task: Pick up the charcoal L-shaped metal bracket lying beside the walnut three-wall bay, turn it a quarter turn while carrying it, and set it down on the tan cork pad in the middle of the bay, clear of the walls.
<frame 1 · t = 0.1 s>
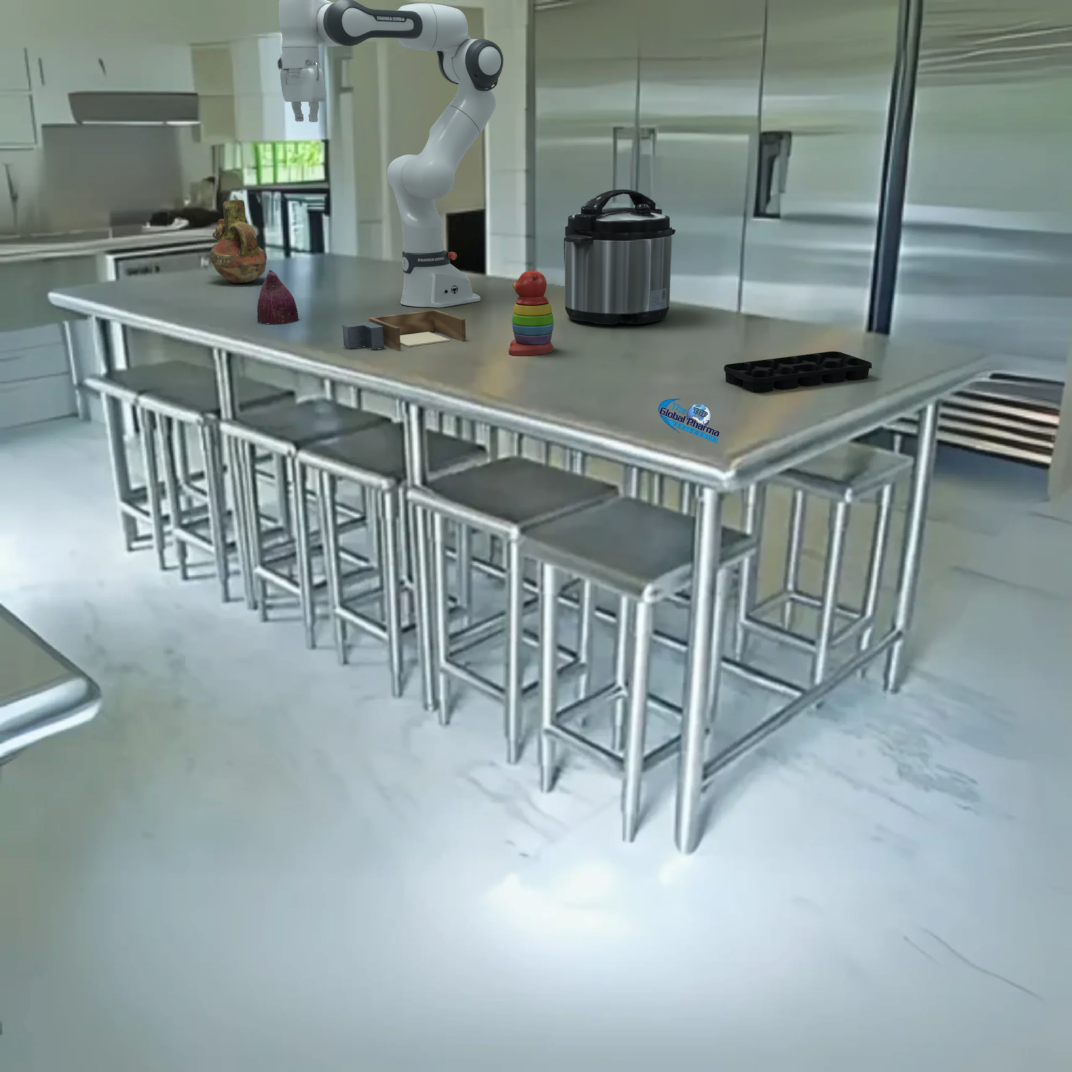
hand: (306, 121, 266), 48 cm above the table, tool pointing down, fingers open, 8 cm apart
black plastic tray: (796, 382, 216), on the table
pressure cooker: (614, 318, 277), on the table
ceramic vessel: (240, 282, 338), on the table
bay: (418, 340, 254), on the table
stacking bear: (531, 351, 243), on the table
vegetable: (278, 321, 279), on the table
bracket: (360, 346, 249), on the table
pad: (418, 340, 254), on the table
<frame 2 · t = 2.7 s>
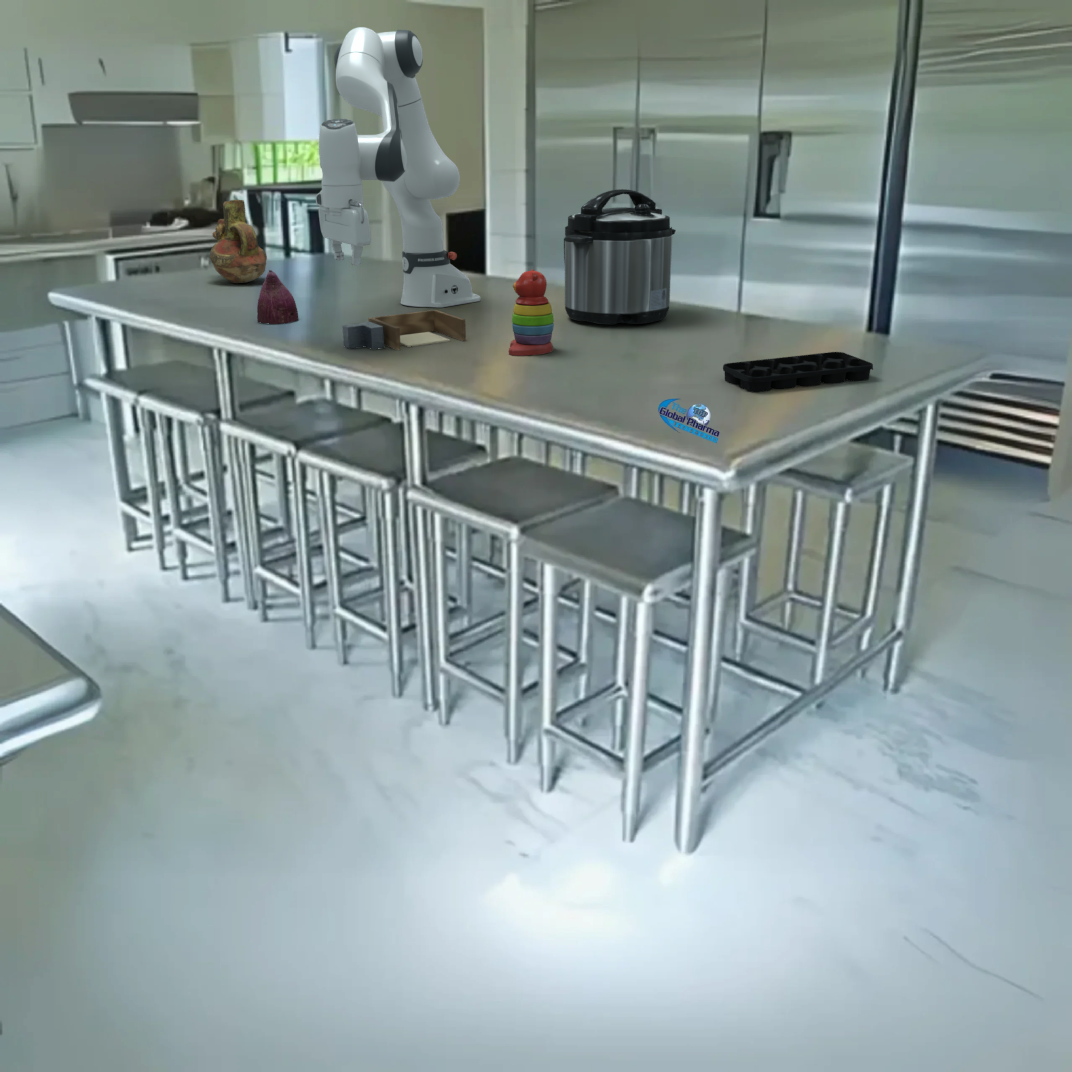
hand: (347, 262, 241), 19 cm above the table, tool pointing down, fingers open, 8 cm apart
nothing on the table moved.
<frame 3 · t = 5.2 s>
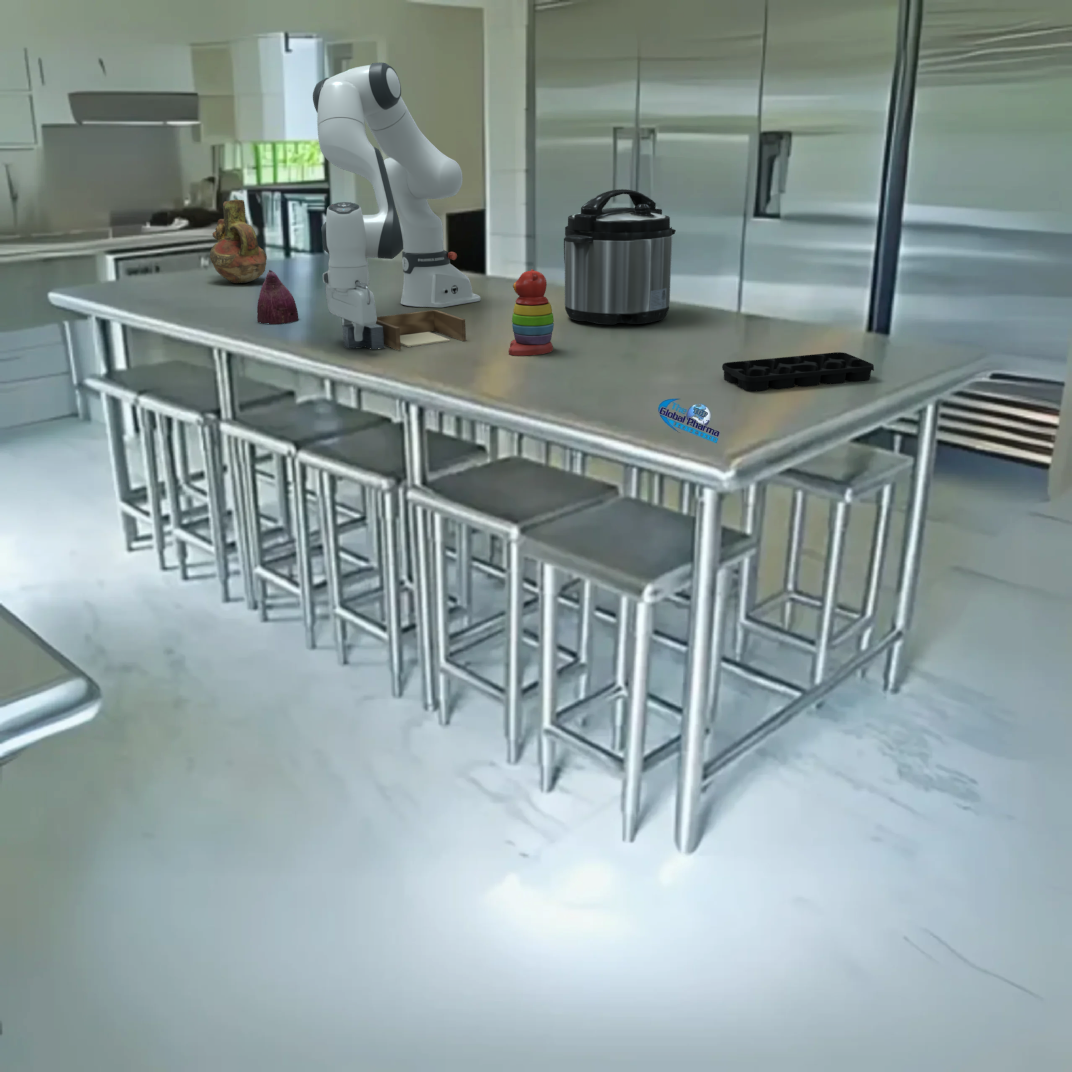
hand: (354, 339, 248), 2 cm above the table, tool pointing down, fingers closed on bracket, 3 cm apart
bracket: (360, 345, 249), on the table, touching gripper
everything else where it was.
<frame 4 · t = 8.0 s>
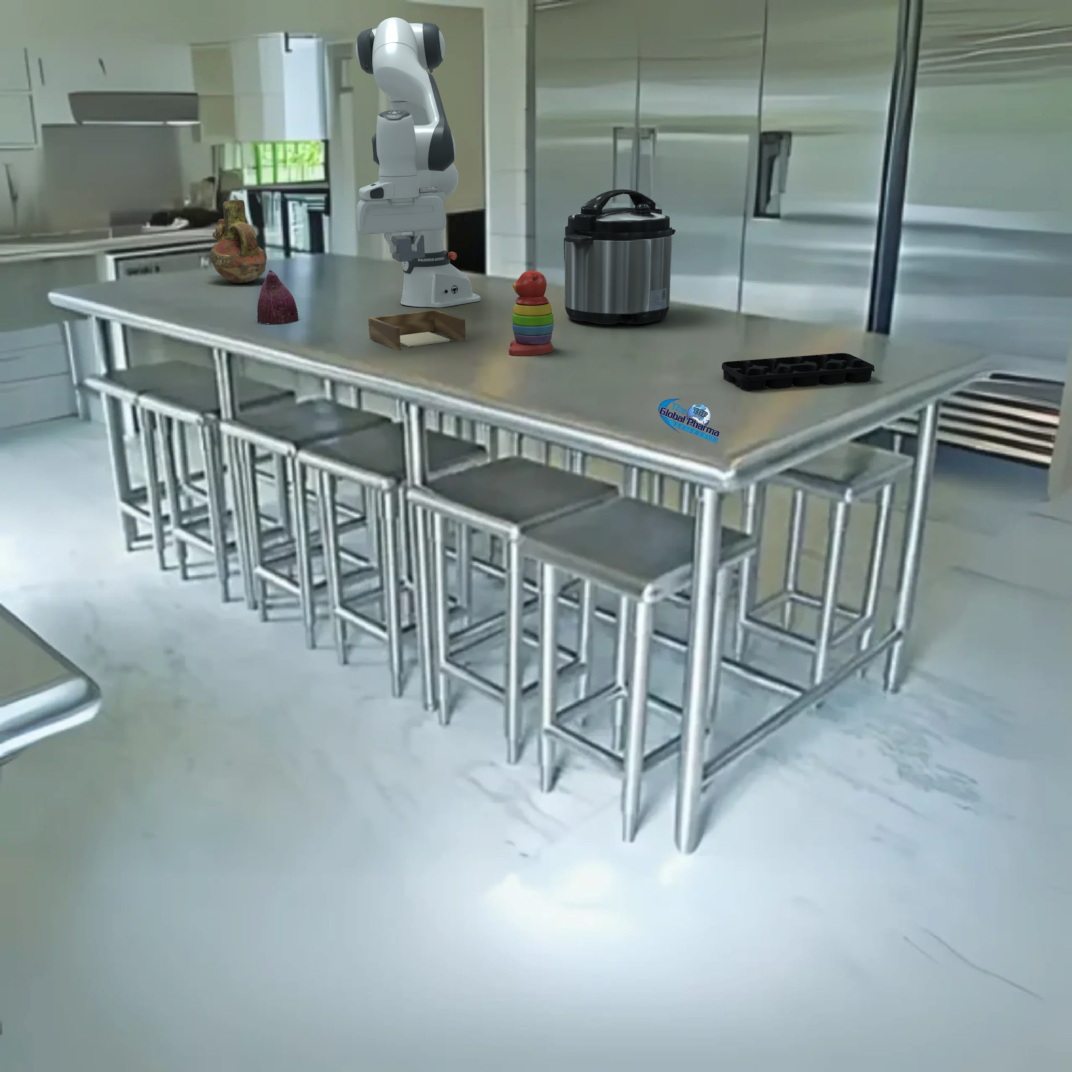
hand: (403, 252, 244), 21 cm above the table, tool pointing down, fingers closed on bracket, 3 cm apart
bracket: (402, 259, 246), point 19 cm above the table, touching gripper
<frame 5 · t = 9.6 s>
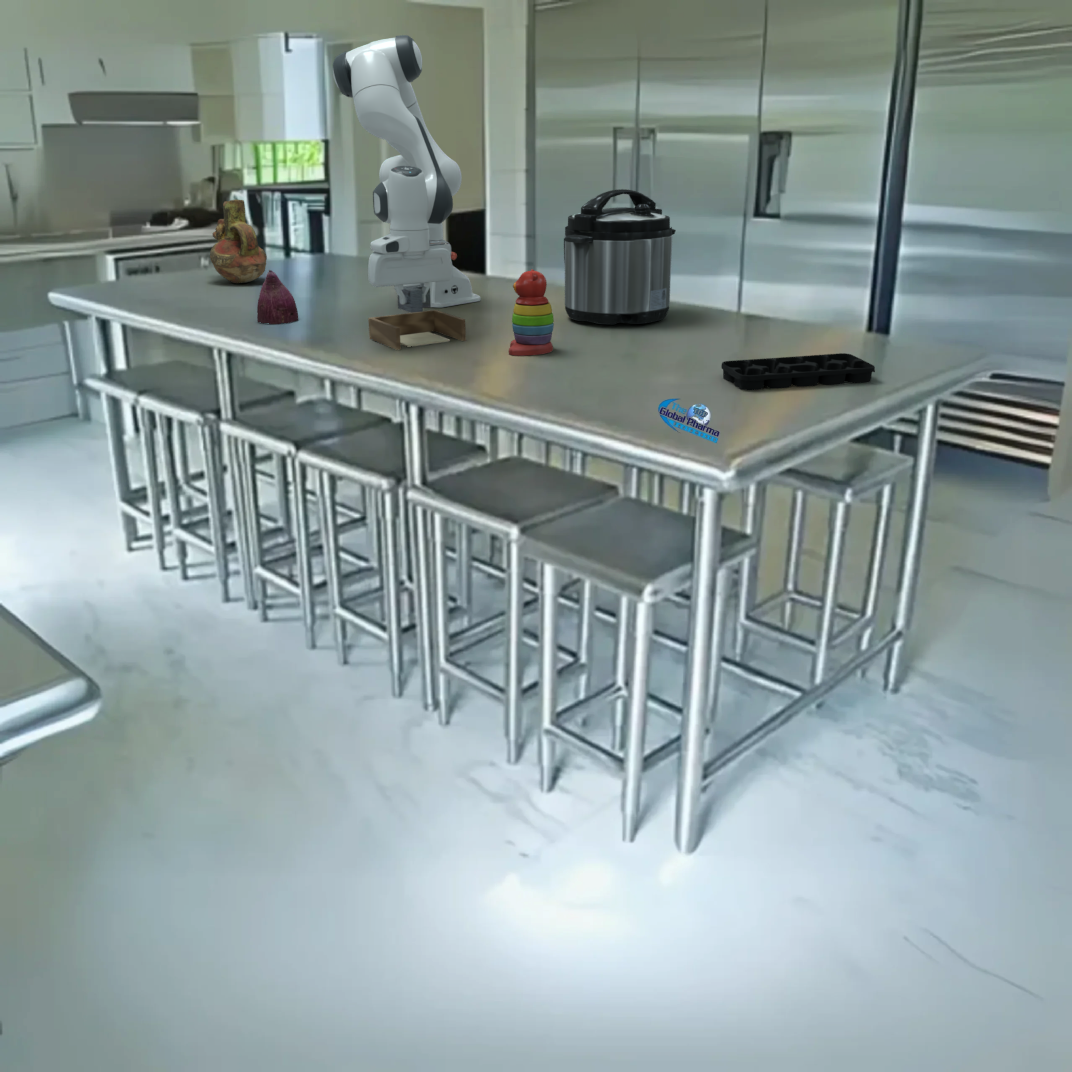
hand: (412, 303, 249), 9 cm above the table, tool pointing down, fingers closed on bracket, 3 cm apart
bracket: (410, 309, 251), point 7 cm above the table, touching gripper
when the fingers open (3 cm above the table, at t = 10.9 s): bracket drops 1 cm, resting on pad.
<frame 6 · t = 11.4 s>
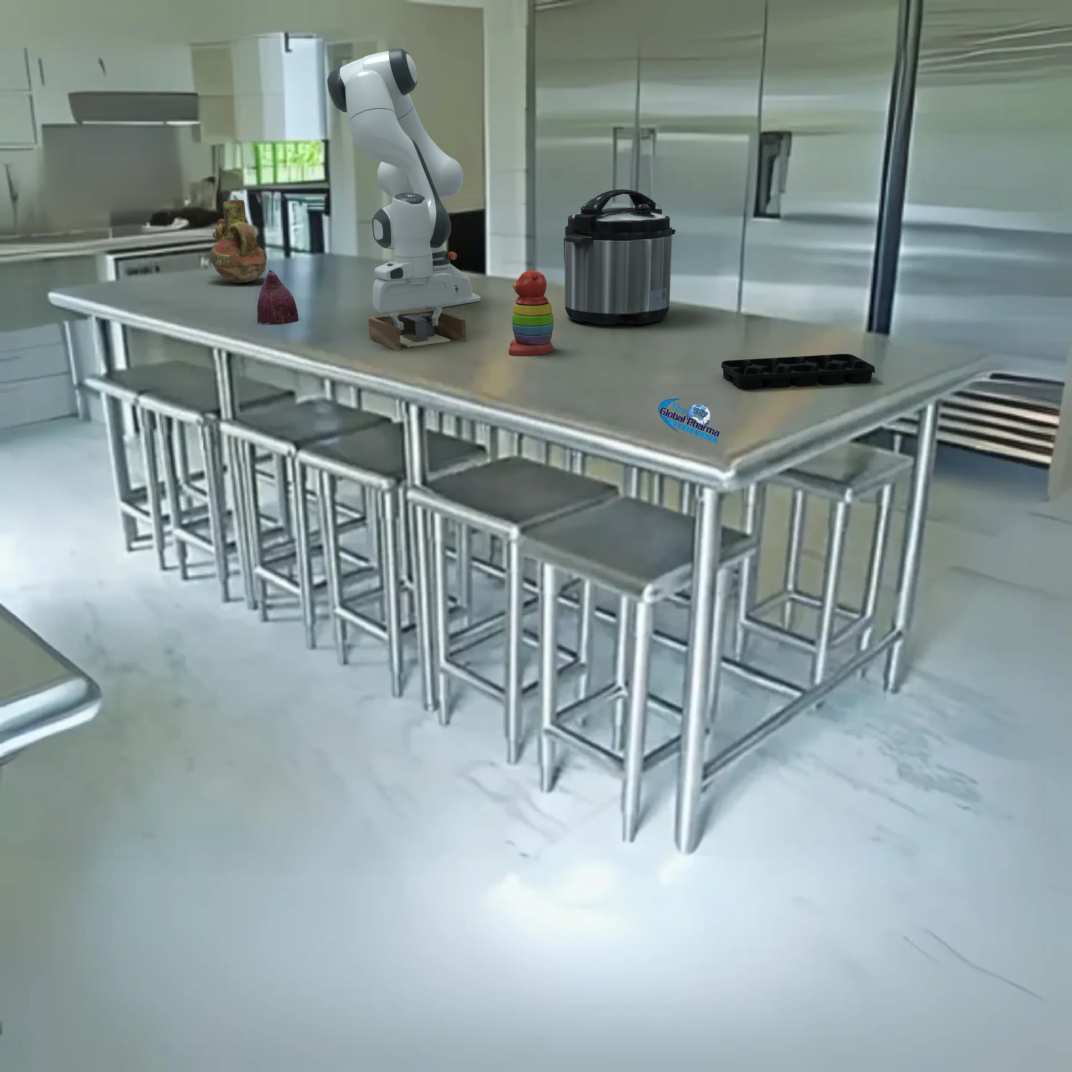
hand: (416, 327, 252), 3 cm above the table, tool pointing down, fingers open, 8 cm apart
bracket: (415, 338, 254), resting on pad
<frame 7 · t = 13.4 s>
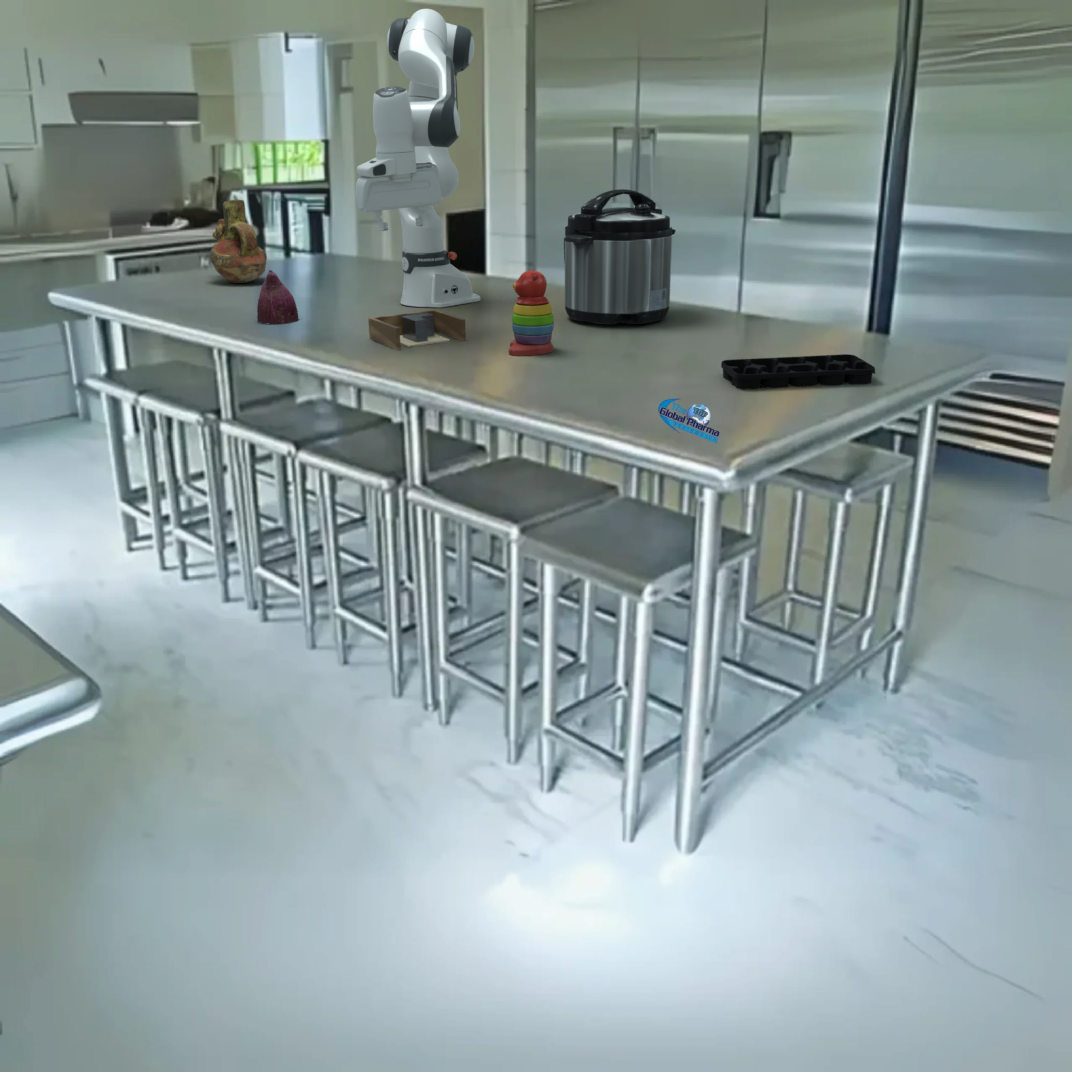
hand: (402, 228, 247), 25 cm above the table, tool pointing down, fingers open, 8 cm apart
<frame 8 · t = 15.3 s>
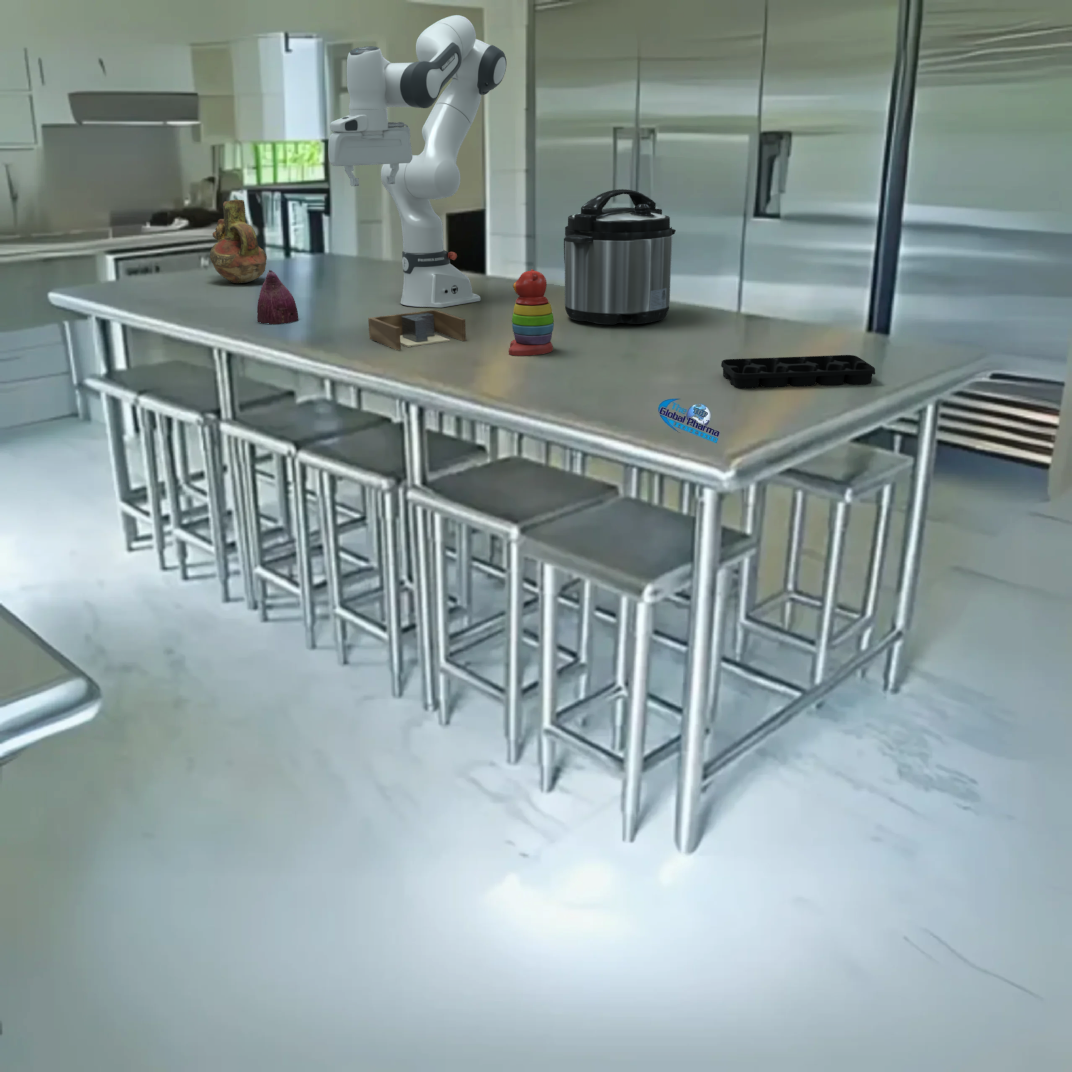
hand: (373, 185, 255), 34 cm above the table, tool pointing down, fingers open, 8 cm apart
at the end: bracket inside the target area on the pad (1.0 cm from its centre), point 0.4 cm above the pad's base; bracket touching pad; bracket tilted 0° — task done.
